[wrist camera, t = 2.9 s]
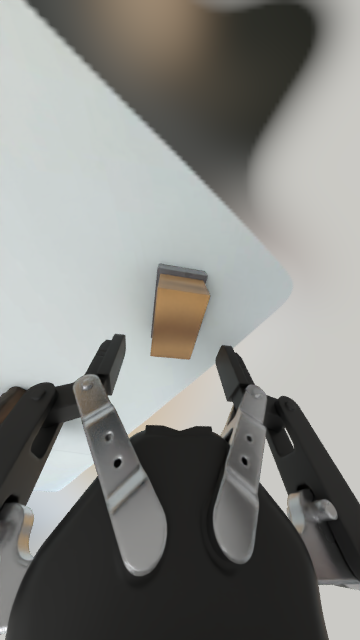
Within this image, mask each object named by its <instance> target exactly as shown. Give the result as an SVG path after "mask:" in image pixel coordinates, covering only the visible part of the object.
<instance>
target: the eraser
mask: <svg viewBox="0 0 360 640" xmlns="http://www.w3.org/2000/svg"><path fill="white" fill-rule="evenodd" d="M207 277H208V276H207V274H206V273H205V271H199V270H193V269H187V268H182V267H176V266H170V265H164V264H159V265H158V269H157V280H156V290H155V300H154V311H153V321H152V331H151V338H152V345H151V356H155V357H167V358H178V359H190V357H191V354H192V351H193V348H194V345H195V342H196V339H197V336H198V333H199V330H200V327H201V323H202V320H203V317H204V314H205V311H206V308H207V305H208V302H209V299H210V294H209V292H208V289H207V287H206V285H205V283H206V280H207Z"/></svg>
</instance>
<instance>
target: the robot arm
mask: <svg viewBox="0 0 360 640" xmlns="http://www.w3.org/2000/svg"><path fill="white" fill-rule="evenodd" d="M125 351H126V342H125V335H121V334H115V335H114V336H113V339H112V340H106V341H105V342H103V343H102V344H101V346H100V347H99V349H98V351H97V353H96V356H95V357H94V359H93V360H92V362H91V364H90V366H89V368H88V370H87V372H86V373H85V375H84V376H82V377H80V378H79V379H77V380H76V382H74V383H71V384H66V385H62V386H57V387H55V386H54V385H53V384H52V383H48V382H45V383H40V384H37V385H35V386H33V387H31V388H29V389H28V390H27V391H26V392H25V393H24V394H23V395H22V397H21V398H20V399H19V401H18V402H17V403H16V405H15V406H14V407H13V409H12V410H11V411H10V413H9V414H8V415H7V417H6V418H5V419H4V421H3V422H2V423H1V425H0V635H1V634H4V633H6V638H5V640H329V638H328V634H327V630H326V626H325V622H324V617H323V612H322V606H321V600H320V593H319V587H318V585H336V586H340V587H345V588H350V589H356V590H360V504H359V502H358V501H357V499H356V498H355V496H354V494H353V493H352V491H351V489H350V488H349V486H348V485H347V483H346V481H345V480H344V478H343V476H342V475H341V473H340V472H339V470H338V468H337V467H336V465H335V464H334V462H333V460H332V459H331V457H330V456H329V454H328V453H327V451H326V449H325V448H324V446H323V444H322V443H321V442H320V440H319V438H318V436H317V435H316V433H315V432H314V430H313V428H312V427H311V425H310V423H309V422H308V420H307V419H306V417H305V416H304V414H303V412H302V411H301V409H300V408H299V406H298V405H297V404H296V402H294V401H293V400H292V399H290V398H289V397H286V396H281V397H280V398H279V399H276V398H273V397H270V396H267V395H266V394H265V392H264V391H263V390H262V389H261V388H260V387H258V386H256V385H255V384H254V382H253V380H252V378H251V377H250V374H249V372H248V370H247V369H246V366H245V364H244V362H243V360H242V358H241V357H240V356H239V355H238V354H237V353H235V352H234V350H233V348H232V347H231V346H225V345H222V346H221V348H220V350H219V352H218V354H217V357H216V366H217V370H218V373H219V376H220V379H221V383H222V386H223V389H224V393H225V396H226V399H227V401H230V402H233V404H234V405H233V407H232V409H231V412H230V414H229V417H228V420H227V423H226V425H225V428H224V430H223V432H222V434H221V436H219V435H218V434H216V433H214V432H212V428H211V427H209V426H207V427H205V426H203V427H202V426H195V427H193V428H189V429H185V430H182V431H178V430H175V429H172V428H169V427H166V426H158V425H146V429H145V430H144V431H141V432H139V433H137V434H135V435H133V436H132V437H131V438H128V435H127V433H126V431H125V429H124V427H123V424H122V422H121V420H120V418H119V416H118V414H117V411H116V409H115V407H114V406H113V405H112V404H111V402H110V400H109V398H108V396H107V395H112V393H113V390H114V387H115V384H116V381H117V378H118V375H119V371H120V368H121V365H122V362H123V359H124V356H125ZM79 417H81V419H82V424H83V427H84V431H85V434H86V437H87V441H88V444H89V448H90V451H91V454H92V458H93V461H94V464H95V468H96V471H97V474H98V476H97V478H96V479H95V480H94V481H93V483H92V484H91V485H90V486H89V487H88V489H87V490H86V491H85V492H84V494H83V495H82V496H81V497H80V499H79V500H78V501H77V502H76V503H75V505H74V506H73V507H72V508H71V510H70V511H69V512H68V513H67V515H66V516H65V517H64V518H63V520H62V521H61V522H60V523H59V524H58V526H57V527H56V528H55V530H54V531H53V532H52V533H51V534H50V536H49V537H48V538H47V539H46V541H45V542H44V543H43V545H42V546H41V547H40V549H39V550H38V552H37V553H36V555H35V556H34V557H33V556H32V555H31V554H30V551H29V537H30V533H31V529H32V526H33V521H34V515H33V511H32V510H31V509H30V508H29V507H26V504H27V502H28V500H29V498H30V495H31V493H32V491H33V489H34V487H35V484H36V482H37V480H38V478H39V476H40V473H41V471H42V469H43V467H44V465H45V462H46V460H47V458H48V456H49V454H50V451H51V449H52V447H53V445H54V443H55V440H56V438H57V436H58V434H59V432H60V429H61V427H62V425H63V423H64V422H66V421H69V420H73V419H76V418H79ZM284 428H286V430H287V431H288V433H289V435H290V438H291V440H292V442H293V444H294V448H293V446H292V444H291V442H290V440H289V437H288V435H287V433H286V431H285V429H284ZM265 437H266V439H267V441H268V444H269V447H270V449H271V452H272V454H273V457H274V459H275V462H276V465H277V467H278V470H279V472H280V475H281V478H282V480H283V483H284V485H285V488H286V491H287V493H288V500H287V505H288V508H287V514H288V517H289V518H288V517H287V516H286V515H285V513H284V512H283V511H282V510H281V508H280V507H279V506H278V505H277V503H276V502H275V501H274V500H273V498H272V497H271V496H270V495H269V493H268V492H267V491H266V490H265V488H264V487H263V486H262V485H261V483H260V482H259V480H260V473H261V465H262V458H263V451H264V444H265ZM289 519H290V520H291V521H290V520H289Z"/></svg>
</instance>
